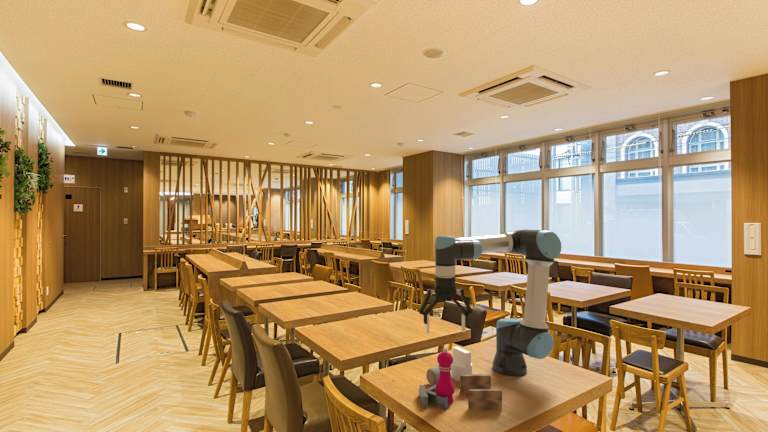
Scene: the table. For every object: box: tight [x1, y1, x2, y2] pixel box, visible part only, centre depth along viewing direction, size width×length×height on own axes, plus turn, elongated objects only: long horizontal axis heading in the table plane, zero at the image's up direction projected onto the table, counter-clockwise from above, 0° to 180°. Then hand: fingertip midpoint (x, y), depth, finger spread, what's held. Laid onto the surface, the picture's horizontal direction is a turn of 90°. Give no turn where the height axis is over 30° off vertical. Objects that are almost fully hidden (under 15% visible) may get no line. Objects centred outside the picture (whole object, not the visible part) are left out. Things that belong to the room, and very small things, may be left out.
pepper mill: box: [435, 347, 456, 406], centre depth 151 cm, size 7×7×20 cm
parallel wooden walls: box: [459, 373, 503, 411], centre depth 151 cm, size 12×15×7 cm
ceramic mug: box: [426, 365, 452, 387], centre depth 164 cm, size 11×8×8 cm
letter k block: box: [418, 384, 449, 411], centre depth 151 cm, size 9×14×4 cm, turn 2°
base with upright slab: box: [450, 345, 473, 382], centre depth 173 cm, size 9×9×12 cm
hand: (445, 332), depth 151 cm, fingers open, 13 cm apart
